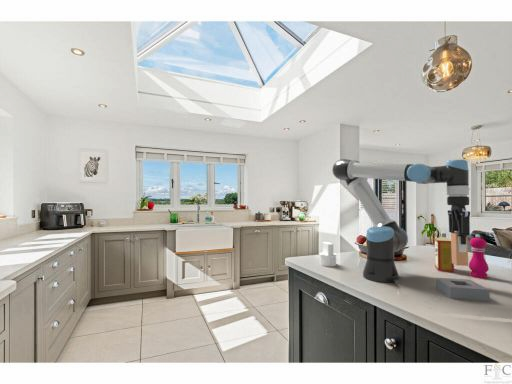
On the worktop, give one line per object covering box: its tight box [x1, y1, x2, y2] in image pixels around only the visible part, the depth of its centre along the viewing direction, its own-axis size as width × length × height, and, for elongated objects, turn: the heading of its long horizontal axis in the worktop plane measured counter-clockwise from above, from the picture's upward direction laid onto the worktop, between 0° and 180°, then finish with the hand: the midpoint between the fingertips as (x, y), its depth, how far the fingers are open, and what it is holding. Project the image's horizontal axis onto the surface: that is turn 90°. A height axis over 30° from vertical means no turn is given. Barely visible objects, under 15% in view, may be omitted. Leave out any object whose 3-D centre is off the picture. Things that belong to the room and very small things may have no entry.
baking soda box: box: [434, 237, 455, 273], centre depth 139 cm, size 10×6×16 cm
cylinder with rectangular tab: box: [319, 241, 337, 267], centre depth 149 cm, size 9×9×12 cm
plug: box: [450, 231, 469, 267], centre depth 112 cm, size 4×4×14 cm
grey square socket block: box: [435, 277, 490, 302], centre depth 100 cm, size 12×12×5 cm
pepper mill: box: [468, 233, 489, 279], centre depth 126 cm, size 7×7×20 cm
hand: (459, 250), depth 112 cm, fingers closed on plug, 4 cm apart
